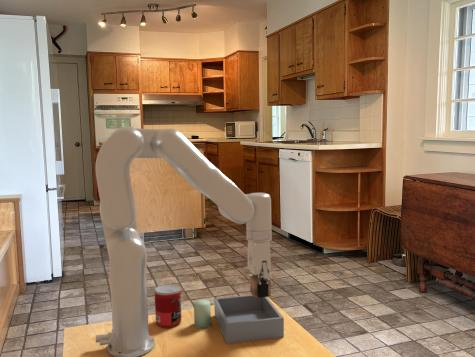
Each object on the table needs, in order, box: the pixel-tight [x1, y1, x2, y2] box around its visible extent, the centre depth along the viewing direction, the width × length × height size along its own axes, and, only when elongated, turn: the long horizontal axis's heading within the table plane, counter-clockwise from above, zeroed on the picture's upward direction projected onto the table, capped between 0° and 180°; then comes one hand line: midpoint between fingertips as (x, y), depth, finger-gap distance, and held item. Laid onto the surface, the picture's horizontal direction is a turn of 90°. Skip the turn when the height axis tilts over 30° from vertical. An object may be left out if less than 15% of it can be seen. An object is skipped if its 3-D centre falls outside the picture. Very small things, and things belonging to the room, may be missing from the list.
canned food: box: [154, 283, 182, 329], centre depth 134 cm, size 8×8×11 cm
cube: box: [249, 275, 272, 298], centre depth 132 cm, size 5×5×5 cm
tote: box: [213, 294, 285, 345], centre depth 132 cm, size 17×20×6 cm
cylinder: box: [193, 299, 212, 329], centre depth 133 cm, size 5×5×7 cm
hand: (260, 292), depth 132 cm, fingers closed on cube, 5 cm apart
